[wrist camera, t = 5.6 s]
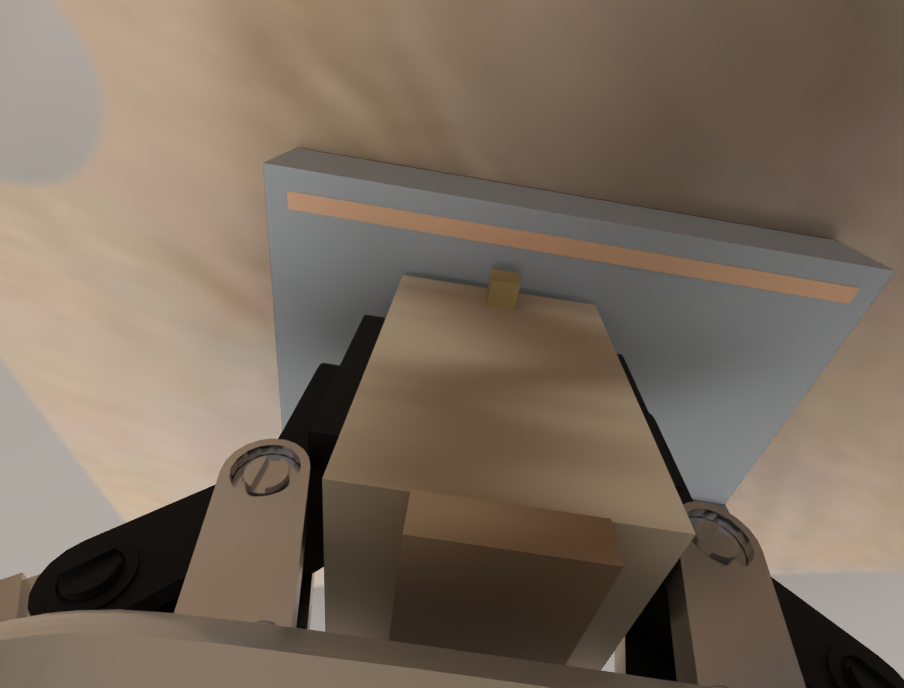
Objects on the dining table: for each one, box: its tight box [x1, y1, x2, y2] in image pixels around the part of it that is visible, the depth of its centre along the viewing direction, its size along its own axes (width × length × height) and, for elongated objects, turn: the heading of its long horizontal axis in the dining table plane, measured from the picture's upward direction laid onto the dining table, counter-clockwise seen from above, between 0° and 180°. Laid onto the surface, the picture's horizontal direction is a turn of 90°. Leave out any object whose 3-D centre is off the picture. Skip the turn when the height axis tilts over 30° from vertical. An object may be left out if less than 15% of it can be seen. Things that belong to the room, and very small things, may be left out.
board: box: [263, 148, 895, 513], centre depth 13 cm, size 14×9×3 cm, turn 82°
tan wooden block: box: [322, 269, 696, 671], centre depth 9 cm, size 4×5×7 cm
